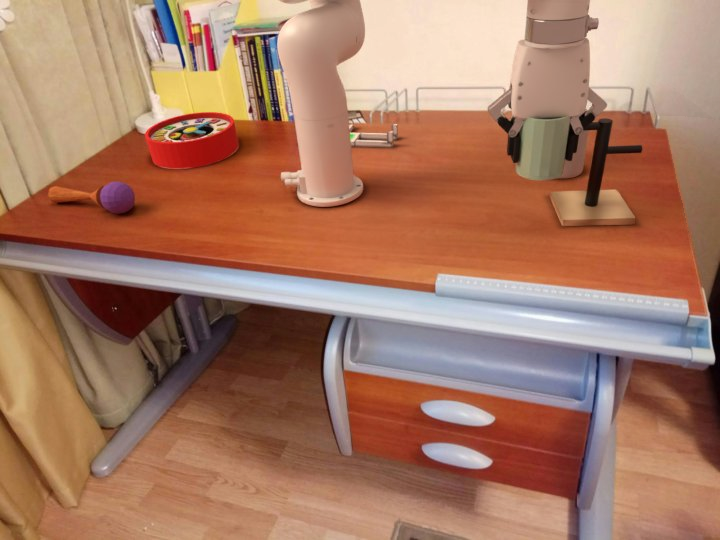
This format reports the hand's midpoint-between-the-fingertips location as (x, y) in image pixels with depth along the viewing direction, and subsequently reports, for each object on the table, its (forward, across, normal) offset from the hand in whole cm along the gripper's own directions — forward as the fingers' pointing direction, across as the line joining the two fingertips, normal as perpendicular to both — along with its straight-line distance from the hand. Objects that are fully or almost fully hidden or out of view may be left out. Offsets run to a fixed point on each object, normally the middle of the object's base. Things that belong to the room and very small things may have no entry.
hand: (540, 157), depth 81 cm
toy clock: (+12, +70, -39) cm, 81 cm away
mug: (+12, -9, -23) cm, 28 cm away
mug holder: (+12, -7, -5) cm, 15 cm away
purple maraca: (+12, +81, -12) cm, 83 cm away
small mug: (+2, 0, -2) cm, 3 cm away
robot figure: (+12, +34, -41) cm, 55 cm away
